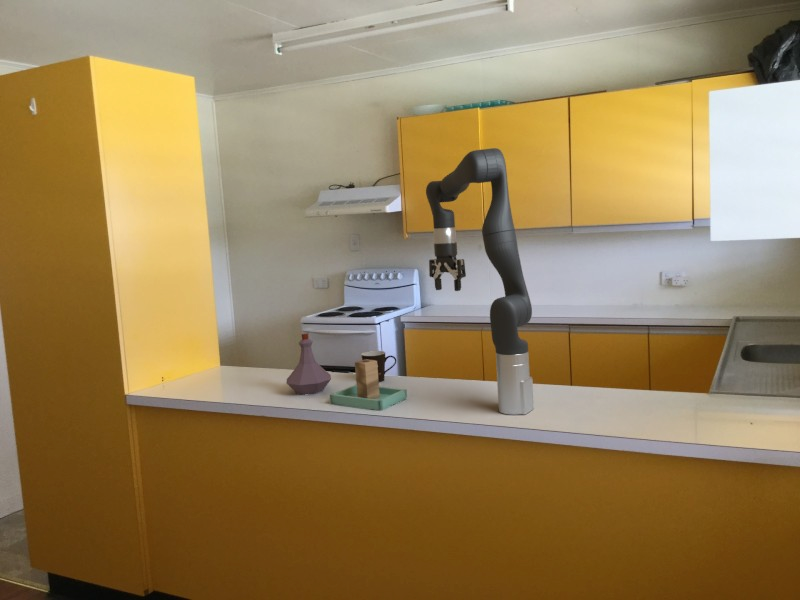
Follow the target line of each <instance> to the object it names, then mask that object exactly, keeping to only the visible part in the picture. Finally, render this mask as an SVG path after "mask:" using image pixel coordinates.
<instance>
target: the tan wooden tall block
mask: <svg viewBox="0 0 800 600" xmlns="http://www.w3.org/2000/svg"><path fill="white" fill-rule="evenodd" d="M354 368H355V370H354V372H355V385H356V384H357V397H360V398H368V399H377V398H380V394H379V387H380V385H379V383H380V382H379V380H378V367H377V361H375V360H369V359H365V360H362V359H361V360H358V361H354Z"/></svg>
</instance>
